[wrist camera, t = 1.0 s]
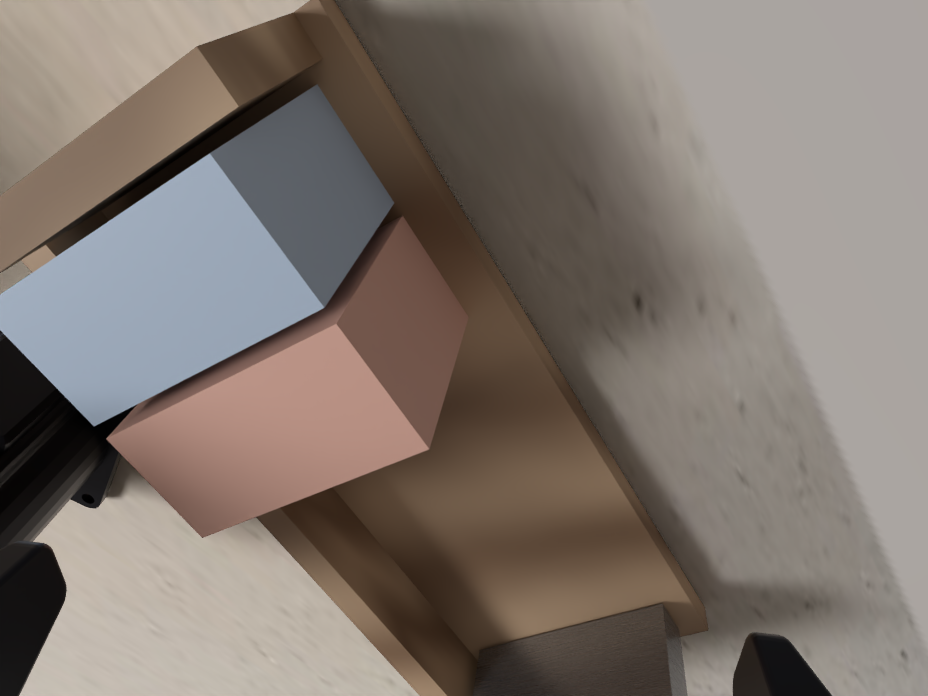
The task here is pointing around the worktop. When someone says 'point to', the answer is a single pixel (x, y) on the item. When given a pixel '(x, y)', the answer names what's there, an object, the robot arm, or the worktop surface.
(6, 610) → the robot arm
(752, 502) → the worktop surface
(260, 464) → the book brick
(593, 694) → the bookend
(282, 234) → the book blue
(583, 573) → the wooden book rack
